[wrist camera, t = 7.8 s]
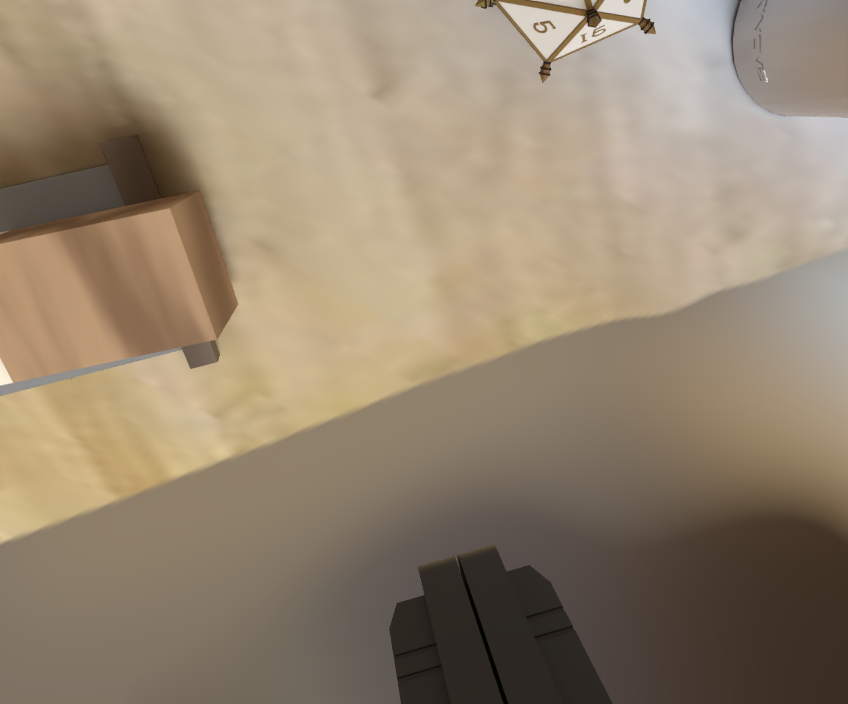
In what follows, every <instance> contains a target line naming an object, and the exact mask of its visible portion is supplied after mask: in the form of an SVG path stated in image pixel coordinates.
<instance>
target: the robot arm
mask: <svg viewBox="0 0 848 704" xmlns="http://www.w3.org/2000/svg"><path fill="white" fill-rule="evenodd" d="M733 53H734V63H735V67H736V70H737V74H738V77H739V80H740V82H741V84H742V85H743V87H744V89H745V91H746V93H747V94H748V95H749V96H750V97H751V98H752V100H753V101H754V102H755V103H756V104H757V105H759V106H760V107H762V108H764V109H765V110H767V111H769V112H771V113H775V114H779V115H782V116H812V117H842V118H848V0H741V2H740V5H739V9H738V13H737V16H736V20H735V25H734V36H733ZM457 557H458V563H459V567H458V564H457V562H456V559H455V557H454V556H452V557H449V558H446V559H442V560H438V561H435V562H431V563H427V564H424V565H420V566H418V570H419V574H420V578H421V582H422V586H423V590H424V594H425V595H424V596H420V597H417V598H413V599H410V600H406V601H403V602H399V603H397V605H396V608H395V612H394V615H393V619H392V622H391V625H390V629H389V630H390V636H391V642H392V649H393V655H394V659H395V667H396V673H397V679H398V686H399V693H400V699H401V704H612V702H611V700H610V698H609V696H608V694H607V692H606V690H605V688H604V686H603V684H602V682H601V680H600V678H599V676H598V674H597V672H596V670H595V668H594V667H593V665H592V663H591V661H590V659H589V657H588V655H587V653H586V651H585V649H584V647H583V645H582V643H581V641H580V639H579V637H578V635H577V633H576V631H574V629H573V626H572V623H571V622H570V620H569V618H568V616H567V614H566V612H565V611H564V610H563V606H562V604H561V602H560V600H559V599H558V596H557V594H556V592H555V590H554V588H553V586H552V585H551V582H549V581H548V580H547V579H545V578H544V577H543V576H542V575H541V574H540V573H538V572H537V571H536V570H535V569H533V568H532V567H531V566H530V565H529V566H525V567H522V568H518V569H514V570H511V571H507V572H506V570H505V567H504V565H503V563H502V560H501V558H500V556H499V554H498V551H497V549H496V547H495V546H494V545H491V546H487V547H484V548H480V549H477V550H473V551H470V552H466V553H462V554H459V555H457ZM459 568H460V570H459Z"/></svg>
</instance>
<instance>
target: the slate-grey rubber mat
mask: <svg viewBox="0 0 848 704" xmlns="http://www.w3.org/2000/svg"><path fill="white" fill-rule="evenodd" d="M123 206H125V205H124V203H123V200H122V198H121V195H120V193H119V190H118V188H117V185H116V183H115V180H114V178H113V175H112V173H111V170H110V168H109V165H108V164H107V165H103V166H98V167H94V168H90V169H85V170H81V171H76V172H72V173H67V174H63V175H59V176H54V177H50V178H45V179H41V180H36V181H32V182H28V183H23V184H19V185H14V186H10V187H5V188H1V189H0V232H4V231H9V230H14V229H19V228H23V227H28V226H33V225H38V224H42V223H47V222H52V221H57V220H62V219H66V218H71V217H76V216H81V215H85V214H90V213H95V212H100V211H104V210H109V209H114V208H119V207H123ZM178 350H182V347H180V348H175V349H170V350H165V351H161V352H156V353H151V354H147V355H142V356H137V357H132V358H128V359H123V360H118V361H114V362H109V363H104V364H99V365H95V366H90V367H85V368H81V369H76V370H71V371H66V372H62V373H57V374H52V375H48V376H43V377H38V378H33V379H29V380H24V381H19V382H15V383H10V384H5V385H0V396H2V395H6V394H10V393H14V392H18V391H22V390H26V389H30V388H33V387H37V386H41V385H45V384H49V383H53V382H57V381H61V380H65V379H69V378H73V377H77V376H80V375H84V374H88V373H92V372H96V371H100V370H104V369H108V368H112V367H116V366H120V365H124V364H127V363H131V362H135V361H139V360H143V359H147V358H151V357H155V356H159V355H163V354H167V353H171V352H175V351H178Z"/></svg>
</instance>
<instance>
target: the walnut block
mask: <svg viewBox="0 0 848 704" xmlns="http://www.w3.org/2000/svg"><path fill="white" fill-rule="evenodd" d="M237 305H238V302H237V299H236V296H235V293H234V290H233V287H232V284H231V281H230V278H229V275H228V272H227V269H226V266H225V263H224V260H223V257H222V254H221V251H220V248H219V245H218V243H217V240H216V237H215V234H214V231H213V228H212V225H211V222H210V219H209V216H208V213H207V210H206V207H205V204H204V201H203V198H202V195H201V192H200V190H199V191H195V192H190V193H185V194H180V195H176V196H171V197H166V198H161V199H157V200H152V201H147V202H142V203H138V204H133V205H128V206H123V207H119V208H114V209H109V210H104V211H100V212H95V213H90V214H85V215H81V216H76V217H71V218H66V219H62V220H57V221H52V222H47V223H42V224H38V225H33V226H28V227H23V228H19V229H14V230H9V231H4V232H0V385H5V384H10V383H15V382H19V381H24V380H29V379H33V378H38V377H43V376H48V375H52V374H57V373H62V372H66V371H71V370H76V369H81V368H85V367H90V366H95V365H99V364H104V363H109V362H114V361H118V360H123V359H128V358H132V357H137V356H142V355H147V354H151V353H156V352H161V351H165V350H170V349H175V348H180V347H184V346H189V345H194V344H198V343H203V342H208V341H213V340H217V339H218V337H219V335H220V334H221V332H222V330H223V329H224V327H225V325H226V324H227V322H228V320H229V319H230V317H231V315H232V314H233V312H234V310H235V309H236V307H237Z"/></svg>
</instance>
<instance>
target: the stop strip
mask: <svg viewBox="0 0 848 704" xmlns="http://www.w3.org/2000/svg"><path fill="white" fill-rule="evenodd" d="M100 145H101V148H102V150H103V153H104V155H105V158H106V160H107V163H108V165H109V168H110V170H111V173H112V175H113V178H114V180H115V183H116V185H117V188H118V190H119V193H120V195H121V198H122V200H123V203H124V205H125V206H128V205H133V204H138V203H142V202H147V201H152V200H157V199H161V197H160V195H159V192H158V189H157V187H156V184H155V181H154V179H153V176H152V173H151V171H150V168H149V165H148V163H147V160H146V157H145V155H144V152H143V149H142V147H141V144H140V141H139V139H138V136H137V135H134V136H129V137H124V138H120V139H115V140H111V141H106V142H102V143H100ZM182 349H183V352H184V354H185V357H186V359H187V362H188V364H189V367H190V369H192V368H196V367H200V366H204V365H208V364H211V363H215V362H218V359H219V356H220V354H219V351H218V349H217V346H216V343H215V341H214V340H213V341H208V342H203V343H198V344H194V345H189V346H184V347H182Z"/></svg>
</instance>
